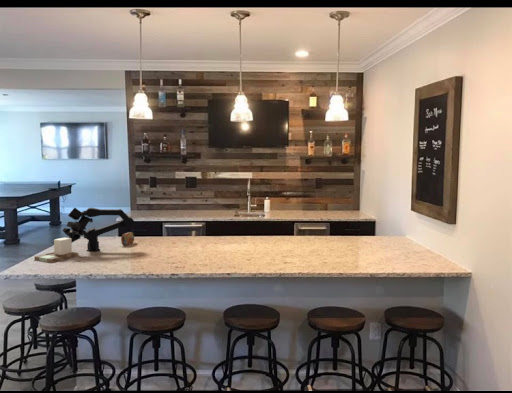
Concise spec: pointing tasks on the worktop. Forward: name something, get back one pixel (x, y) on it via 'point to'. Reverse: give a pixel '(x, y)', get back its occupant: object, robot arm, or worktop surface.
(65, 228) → the robot arm
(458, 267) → the worktop surface
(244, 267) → the worktop surface
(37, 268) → the worktop surface
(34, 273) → the worktop surface
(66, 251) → the cream block
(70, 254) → the trap board
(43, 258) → the pad
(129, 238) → the tin
